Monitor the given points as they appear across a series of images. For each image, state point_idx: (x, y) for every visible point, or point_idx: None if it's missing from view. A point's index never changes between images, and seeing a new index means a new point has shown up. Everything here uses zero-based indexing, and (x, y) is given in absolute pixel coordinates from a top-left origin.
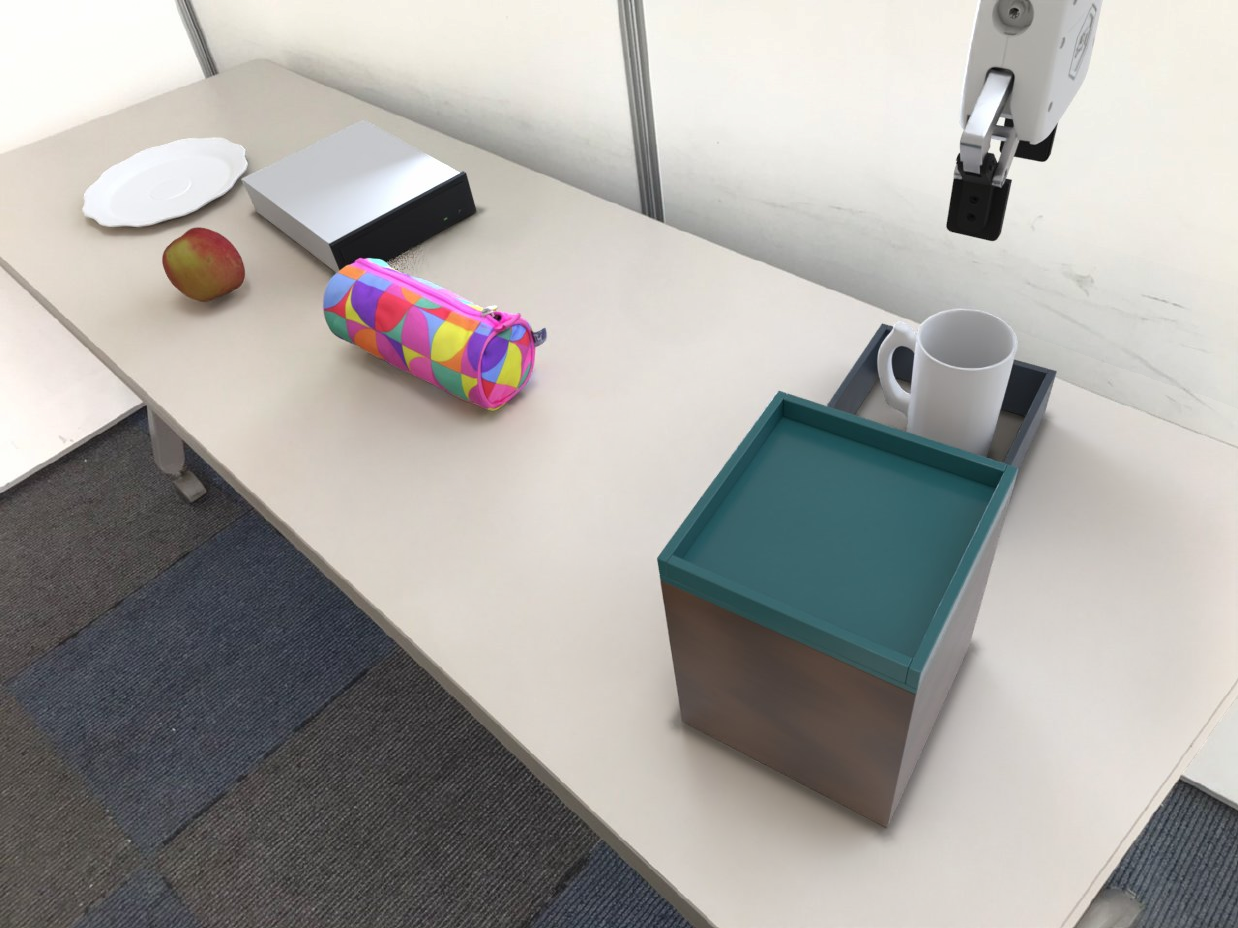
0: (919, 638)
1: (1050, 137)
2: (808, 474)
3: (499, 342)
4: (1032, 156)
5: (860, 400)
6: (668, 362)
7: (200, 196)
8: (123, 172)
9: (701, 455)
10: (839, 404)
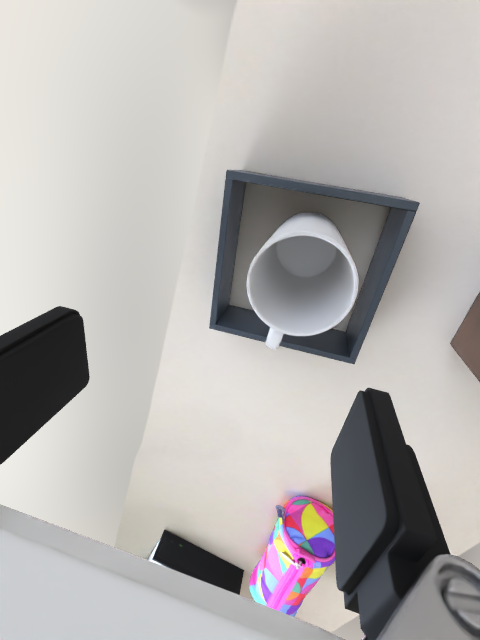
0: None
1: (35, 339)
2: None
3: (315, 549)
4: (78, 337)
5: None
6: (258, 430)
7: None
8: None
9: (342, 402)
10: (310, 344)
